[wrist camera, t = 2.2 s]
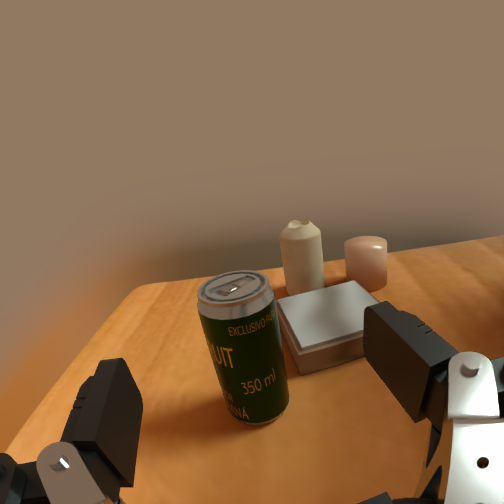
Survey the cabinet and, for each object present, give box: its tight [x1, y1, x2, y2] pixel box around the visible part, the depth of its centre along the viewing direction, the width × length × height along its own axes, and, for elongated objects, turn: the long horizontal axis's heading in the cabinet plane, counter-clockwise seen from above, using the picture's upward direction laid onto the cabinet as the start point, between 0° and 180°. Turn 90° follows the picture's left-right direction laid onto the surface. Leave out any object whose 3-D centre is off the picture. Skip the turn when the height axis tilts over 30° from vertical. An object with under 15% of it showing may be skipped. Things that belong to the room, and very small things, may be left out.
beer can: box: [197, 270, 289, 425], centre depth 23 cm, size 5×5×12 cm
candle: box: [279, 220, 325, 296], centre depth 42 cm, size 6×6×10 cm
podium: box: [276, 280, 380, 376], centre depth 33 cm, size 11×11×3 cm
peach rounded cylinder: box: [344, 236, 387, 292], centre depth 42 cm, size 6×6×6 cm
